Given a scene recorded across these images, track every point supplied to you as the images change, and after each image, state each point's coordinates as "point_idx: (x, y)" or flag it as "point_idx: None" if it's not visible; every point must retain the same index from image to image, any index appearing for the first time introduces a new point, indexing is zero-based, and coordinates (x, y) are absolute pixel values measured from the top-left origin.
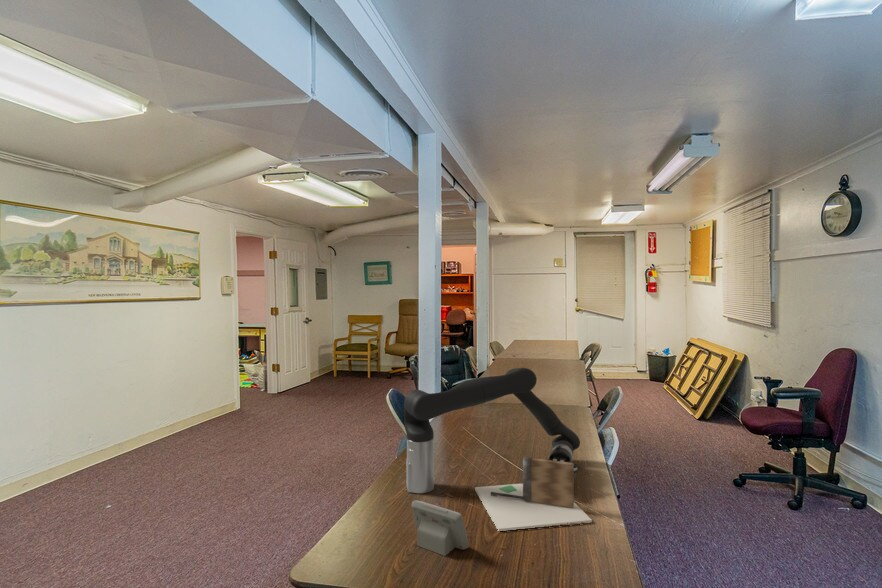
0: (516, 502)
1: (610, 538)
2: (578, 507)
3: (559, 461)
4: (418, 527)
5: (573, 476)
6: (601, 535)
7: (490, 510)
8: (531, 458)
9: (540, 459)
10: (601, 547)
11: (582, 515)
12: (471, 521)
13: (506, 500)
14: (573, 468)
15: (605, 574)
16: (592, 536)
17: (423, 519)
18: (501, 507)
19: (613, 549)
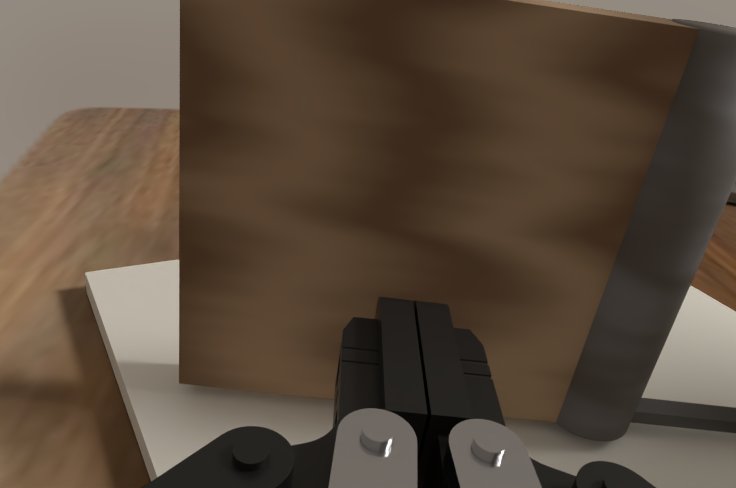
0: None
1: (35, 212)
2: (136, 388)
3: None
4: None
5: (185, 107)
6: (75, 224)
7: (700, 297)
8: (695, 26)
9: (589, 11)
10: (115, 177)
11: (136, 305)
12: (708, 263)
13: (723, 400)
14: (185, 13)
15: (153, 117)
16: (130, 218)
17: None
18: (675, 326)
19: (64, 171)
